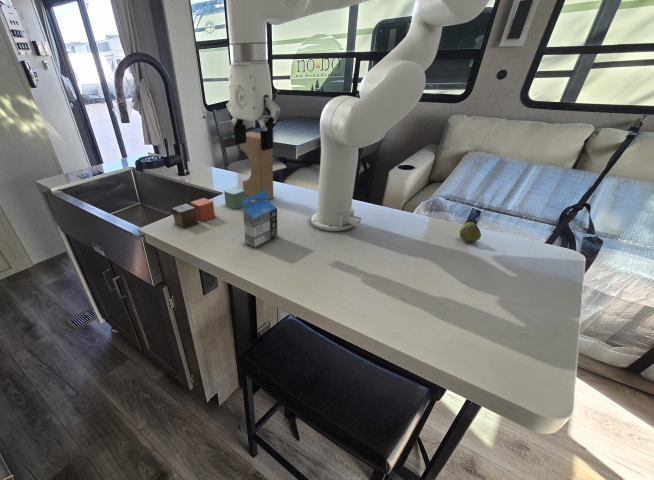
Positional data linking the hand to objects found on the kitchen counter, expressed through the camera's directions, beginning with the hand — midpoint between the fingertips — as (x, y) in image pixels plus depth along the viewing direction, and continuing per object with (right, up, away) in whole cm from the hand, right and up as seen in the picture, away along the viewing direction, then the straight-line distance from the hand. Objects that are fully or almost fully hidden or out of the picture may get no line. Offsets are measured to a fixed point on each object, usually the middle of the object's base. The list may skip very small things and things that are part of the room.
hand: (253, 146), depth 74 cm
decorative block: (+1, 0, +38) cm, 38 cm away
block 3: (-7, -5, +31) cm, 33 cm away
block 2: (-16, -11, +25) cm, 32 cm away
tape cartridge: (+2, -21, +11) cm, 23 cm away
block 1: (-21, -14, +21) cm, 33 cm away
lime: (+55, -22, +6) cm, 59 cm away
